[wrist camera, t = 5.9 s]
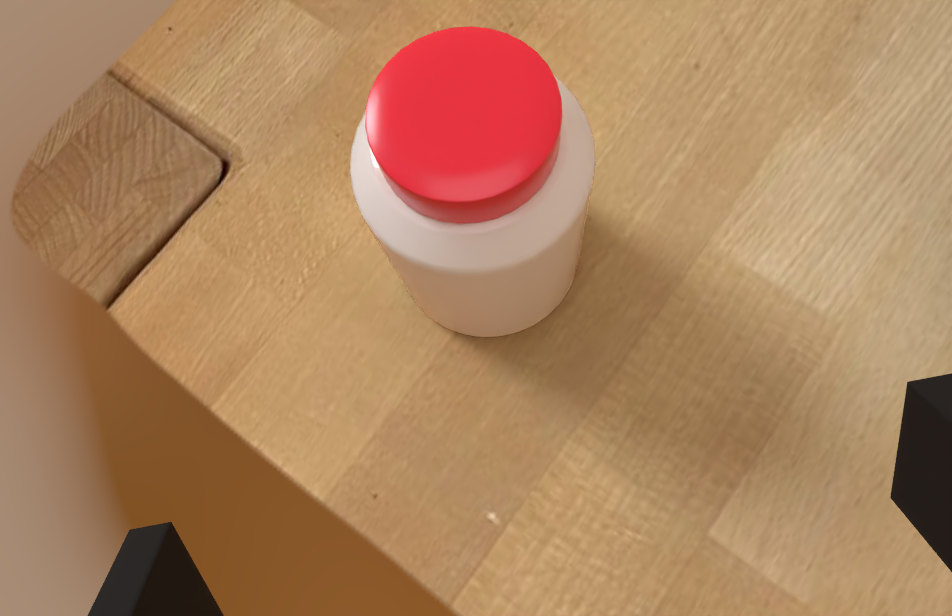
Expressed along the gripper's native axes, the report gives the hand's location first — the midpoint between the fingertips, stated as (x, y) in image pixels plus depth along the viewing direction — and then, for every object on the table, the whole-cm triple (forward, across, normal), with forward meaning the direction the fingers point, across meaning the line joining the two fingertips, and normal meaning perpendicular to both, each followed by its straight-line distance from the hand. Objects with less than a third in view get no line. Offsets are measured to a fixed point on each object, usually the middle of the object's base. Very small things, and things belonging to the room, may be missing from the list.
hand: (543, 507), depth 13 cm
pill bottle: (+18, 0, -3) cm, 18 cm away
